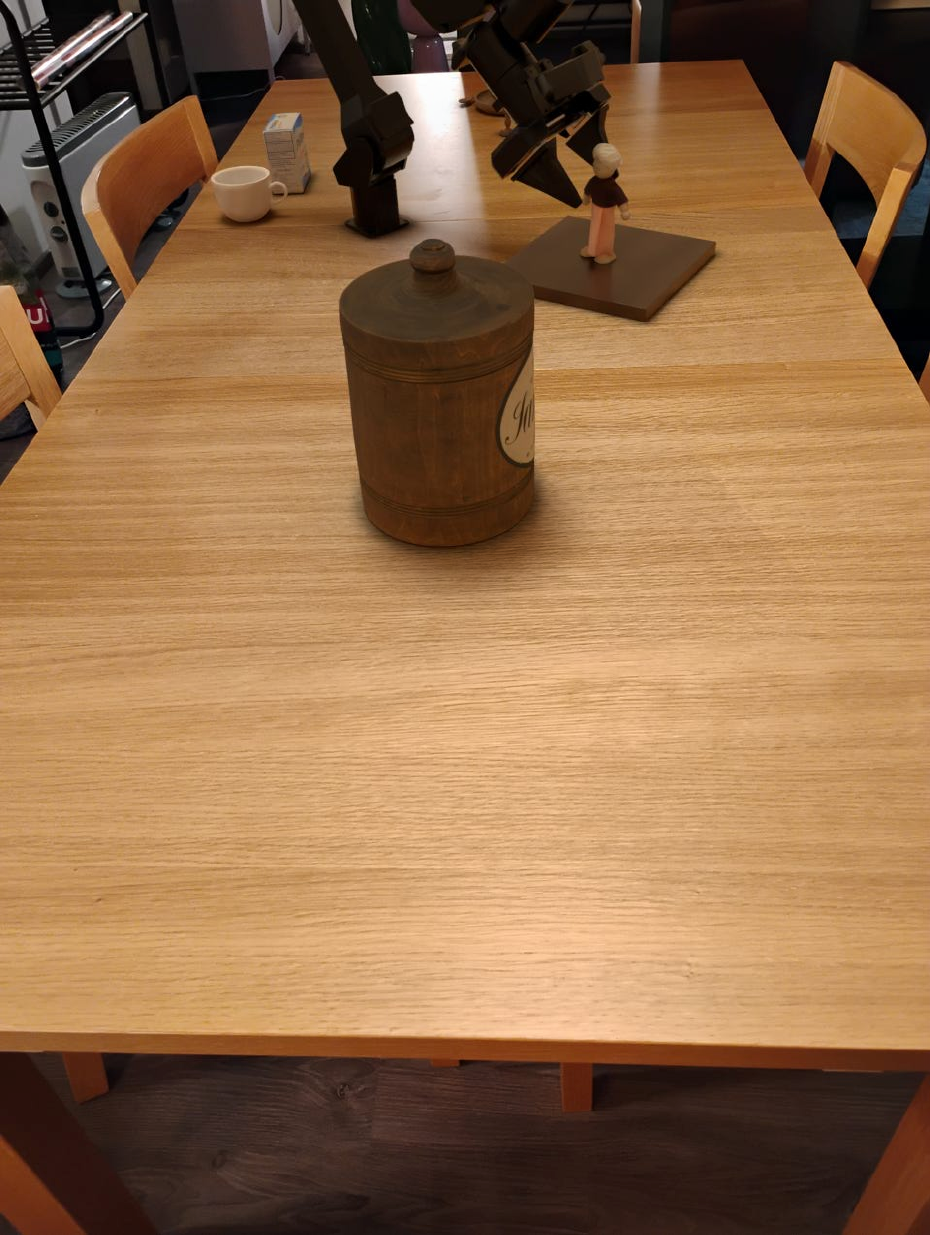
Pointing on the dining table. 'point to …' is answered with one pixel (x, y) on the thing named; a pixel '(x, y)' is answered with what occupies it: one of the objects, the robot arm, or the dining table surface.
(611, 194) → the grandmother figurine
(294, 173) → the medicine box
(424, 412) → the wooden container
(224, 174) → the teacup
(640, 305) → the stand board
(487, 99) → the place setting
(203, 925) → the dining table surface
